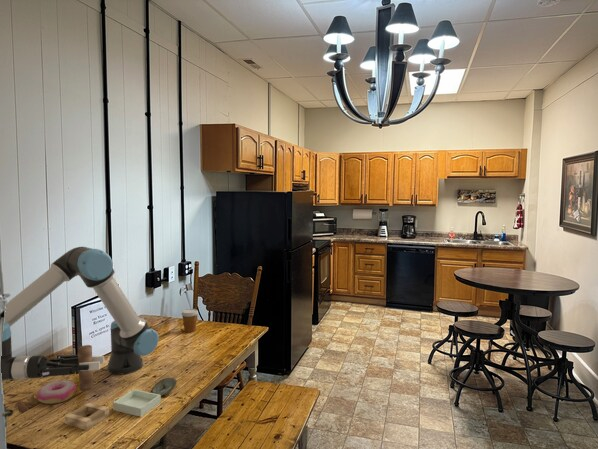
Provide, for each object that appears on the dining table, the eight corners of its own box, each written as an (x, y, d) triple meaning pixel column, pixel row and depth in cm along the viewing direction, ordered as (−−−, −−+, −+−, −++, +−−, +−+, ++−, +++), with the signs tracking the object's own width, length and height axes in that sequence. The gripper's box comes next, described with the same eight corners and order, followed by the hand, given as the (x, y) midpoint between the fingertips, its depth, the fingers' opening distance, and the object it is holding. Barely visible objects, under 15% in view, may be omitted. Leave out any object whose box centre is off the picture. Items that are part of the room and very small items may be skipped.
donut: (32, 408, 157) (31, 395, 156) (43, 392, 170) (42, 380, 169) (71, 403, 161) (71, 391, 160) (79, 388, 173) (79, 376, 173)
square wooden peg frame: (65, 424, 146) (64, 416, 146) (88, 410, 156) (88, 402, 155) (86, 430, 143) (86, 421, 142) (109, 415, 152) (109, 407, 152)
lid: (182, 391, 171) (181, 379, 171) (160, 400, 164) (160, 388, 163) (167, 383, 178) (167, 372, 177) (146, 391, 170) (146, 380, 170)
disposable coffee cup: (181, 329, 248) (181, 309, 247) (197, 327, 251) (197, 308, 250) (182, 334, 239) (181, 313, 238) (198, 332, 242) (198, 312, 241)
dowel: (76, 389, 147) (74, 348, 146) (86, 384, 151) (85, 344, 150) (86, 391, 145) (84, 350, 144) (96, 386, 149) (94, 346, 148)
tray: (113, 410, 156) (113, 402, 156) (134, 396, 166) (134, 389, 166) (141, 416, 151) (140, 408, 151) (160, 402, 162) (160, 395, 161)
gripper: (41, 366, 153) (108, 362, 157) (18, 389, 136) (94, 384, 140) (40, 347, 153) (108, 343, 157) (17, 367, 135) (93, 362, 139)
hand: (101, 362), depth 148 cm, fingers closed on dowel, 4 cm apart
